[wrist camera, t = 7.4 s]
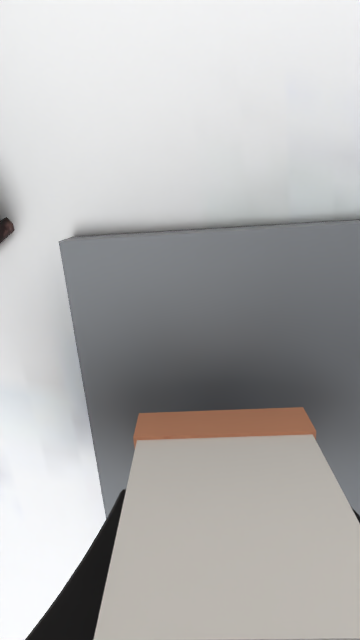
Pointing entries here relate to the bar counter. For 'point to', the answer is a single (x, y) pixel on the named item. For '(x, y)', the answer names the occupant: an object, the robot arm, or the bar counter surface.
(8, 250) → the bar counter surface
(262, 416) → the sleeve
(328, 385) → the pin board
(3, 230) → the diary
